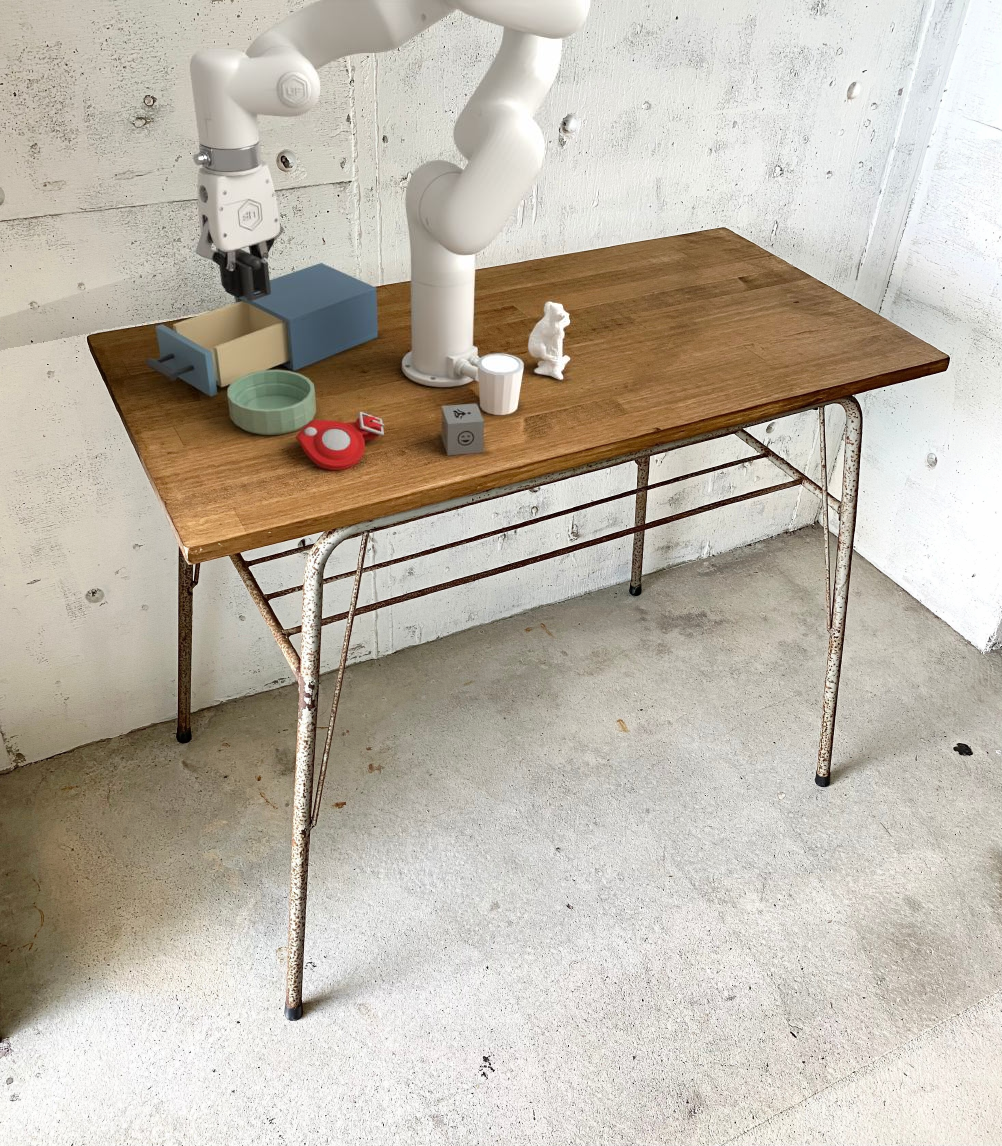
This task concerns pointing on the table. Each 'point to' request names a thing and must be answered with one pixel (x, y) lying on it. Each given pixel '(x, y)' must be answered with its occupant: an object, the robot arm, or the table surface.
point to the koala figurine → (550, 341)
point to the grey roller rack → (252, 275)
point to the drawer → (221, 346)
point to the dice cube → (462, 429)
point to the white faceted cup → (499, 383)
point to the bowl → (271, 402)
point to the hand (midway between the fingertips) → (246, 288)
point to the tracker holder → (338, 440)
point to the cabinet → (320, 312)
